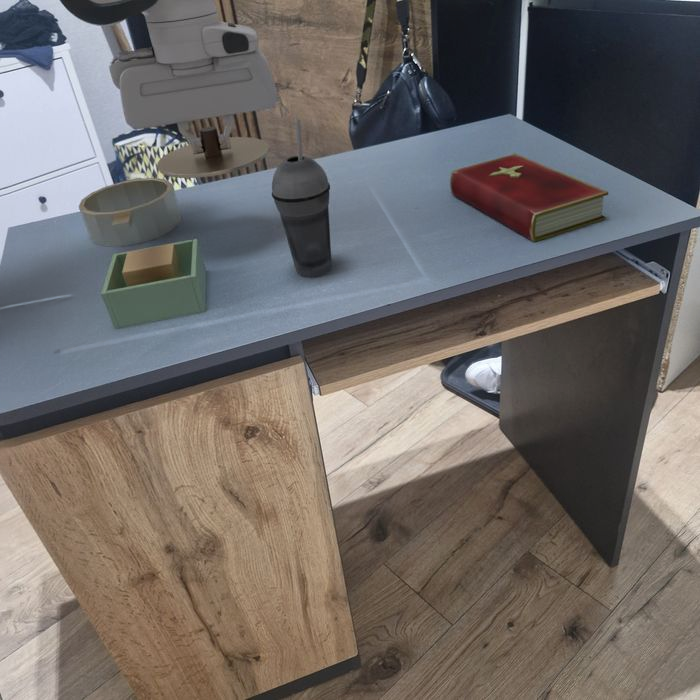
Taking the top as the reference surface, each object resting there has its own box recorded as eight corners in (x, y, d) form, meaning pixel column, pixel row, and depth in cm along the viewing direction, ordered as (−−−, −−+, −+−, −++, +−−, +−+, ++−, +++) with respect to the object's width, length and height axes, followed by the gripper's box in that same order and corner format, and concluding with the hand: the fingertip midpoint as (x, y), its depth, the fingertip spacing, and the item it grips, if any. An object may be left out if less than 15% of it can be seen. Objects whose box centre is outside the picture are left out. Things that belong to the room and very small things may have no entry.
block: (137, 314, 81) (121, 272, 77) (141, 292, 85) (127, 251, 82) (184, 305, 81) (171, 263, 78) (186, 283, 86) (173, 243, 83)
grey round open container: (82, 264, 96) (68, 227, 93) (101, 215, 113) (89, 182, 109) (179, 246, 98) (168, 209, 94) (184, 200, 114) (174, 167, 111)
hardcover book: (531, 243, 85) (533, 213, 82) (450, 195, 101) (449, 169, 99) (605, 219, 88) (608, 190, 86) (514, 177, 104) (515, 151, 102)
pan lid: (155, 190, 83) (145, 155, 80) (162, 154, 95) (154, 123, 93) (274, 170, 84) (268, 135, 81) (266, 138, 97) (260, 106, 94)
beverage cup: (304, 257, 89) (278, 110, 78) (351, 263, 86) (331, 110, 75) (277, 282, 84) (245, 129, 73) (326, 289, 81) (300, 130, 70)
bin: (116, 332, 78) (100, 294, 75) (125, 290, 88) (112, 253, 85) (206, 315, 79) (195, 276, 76) (207, 274, 89) (197, 238, 85)
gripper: (101, 58, 77) (135, 169, 85) (268, 33, 79) (286, 145, 87) (108, 50, 83) (139, 156, 90) (264, 27, 84) (282, 133, 92)
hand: (212, 150), depth 89 cm, fingers closed on pan lid, 2 cm apart
